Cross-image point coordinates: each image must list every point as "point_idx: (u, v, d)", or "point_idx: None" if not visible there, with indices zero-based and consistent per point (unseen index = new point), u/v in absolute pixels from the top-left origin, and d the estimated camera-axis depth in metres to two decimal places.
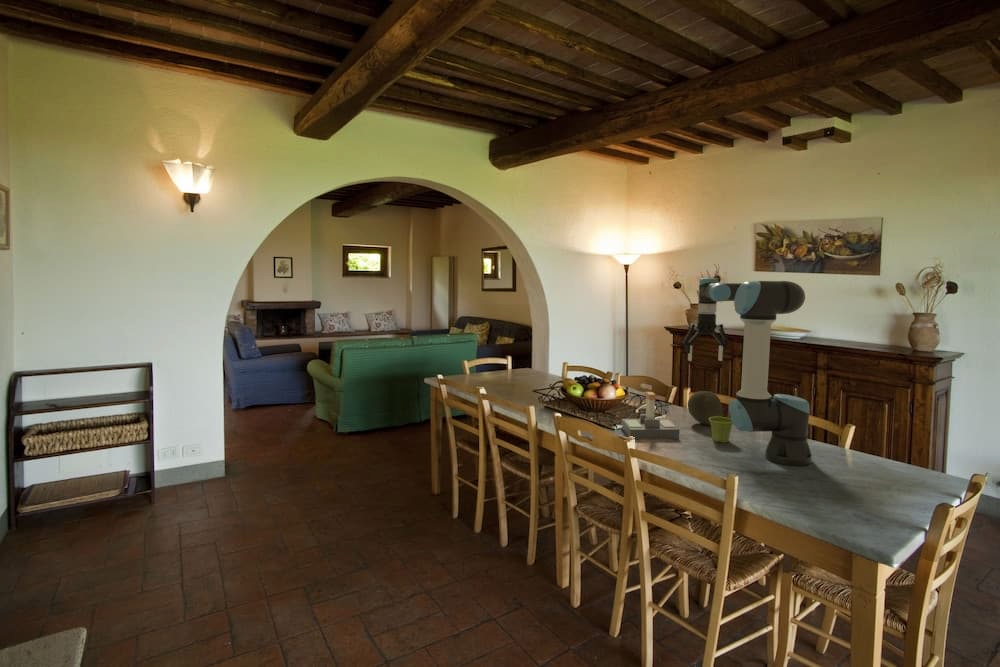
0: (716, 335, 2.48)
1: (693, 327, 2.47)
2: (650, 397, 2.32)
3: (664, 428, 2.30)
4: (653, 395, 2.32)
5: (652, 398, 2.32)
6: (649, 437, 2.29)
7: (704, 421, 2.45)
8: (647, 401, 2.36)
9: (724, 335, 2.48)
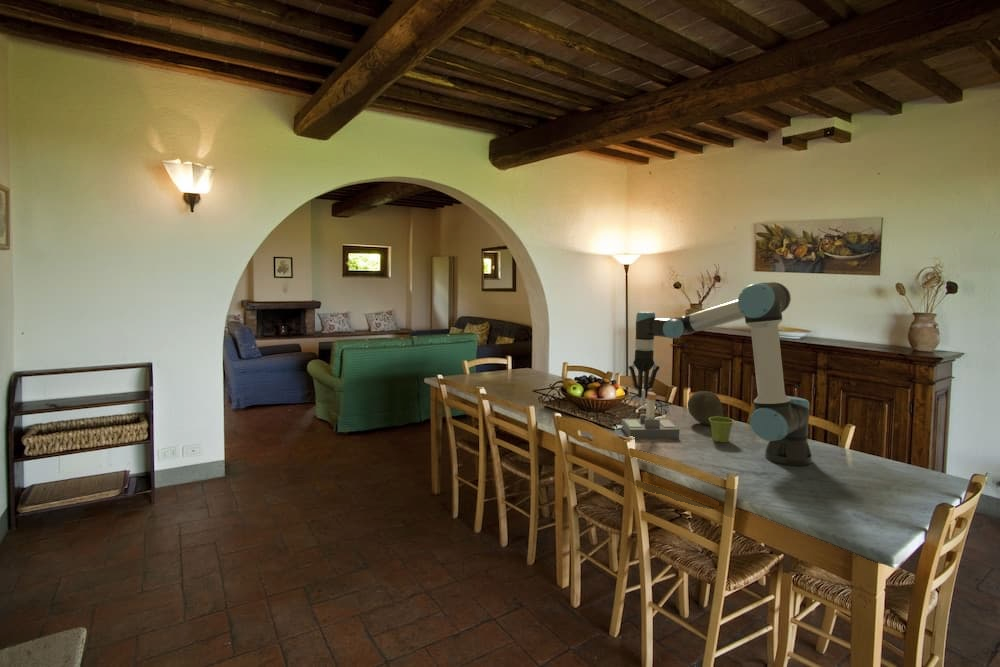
0: (647, 375, 2.32)
1: (632, 369, 2.32)
2: (651, 397, 2.32)
3: (664, 428, 2.30)
4: (654, 395, 2.32)
5: (653, 398, 2.32)
6: (649, 437, 2.29)
7: (704, 421, 2.45)
8: (647, 401, 2.36)
9: (653, 377, 2.32)
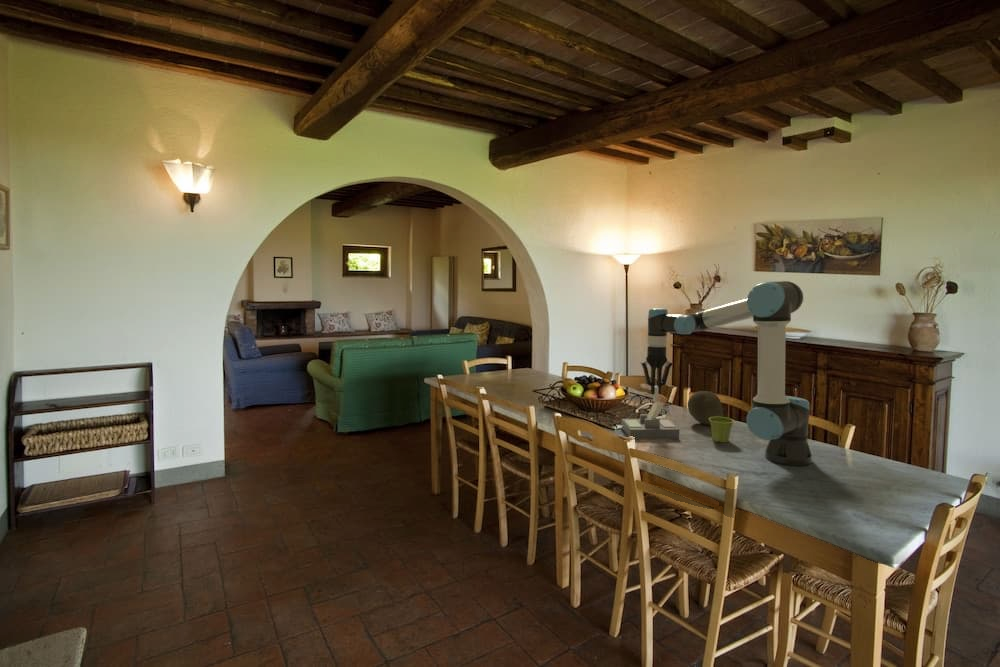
0: (660, 372, 2.32)
1: (644, 365, 2.32)
2: (662, 399, 2.32)
3: (664, 428, 2.30)
4: (665, 398, 2.32)
5: (663, 401, 2.32)
6: (649, 437, 2.29)
7: (704, 421, 2.45)
8: (656, 402, 2.36)
9: (666, 374, 2.32)
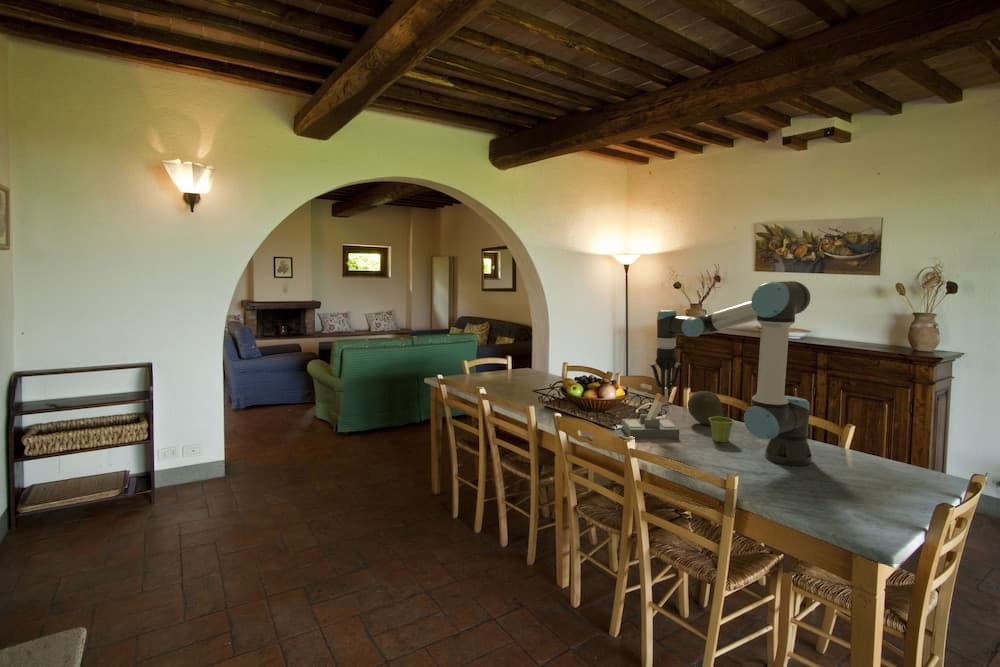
0: (669, 373, 2.33)
1: (654, 367, 2.32)
2: (660, 398, 2.32)
3: (664, 428, 2.30)
4: (664, 398, 2.32)
5: (662, 400, 2.32)
6: (649, 437, 2.29)
7: (704, 421, 2.45)
8: (655, 402, 2.36)
9: (675, 375, 2.33)
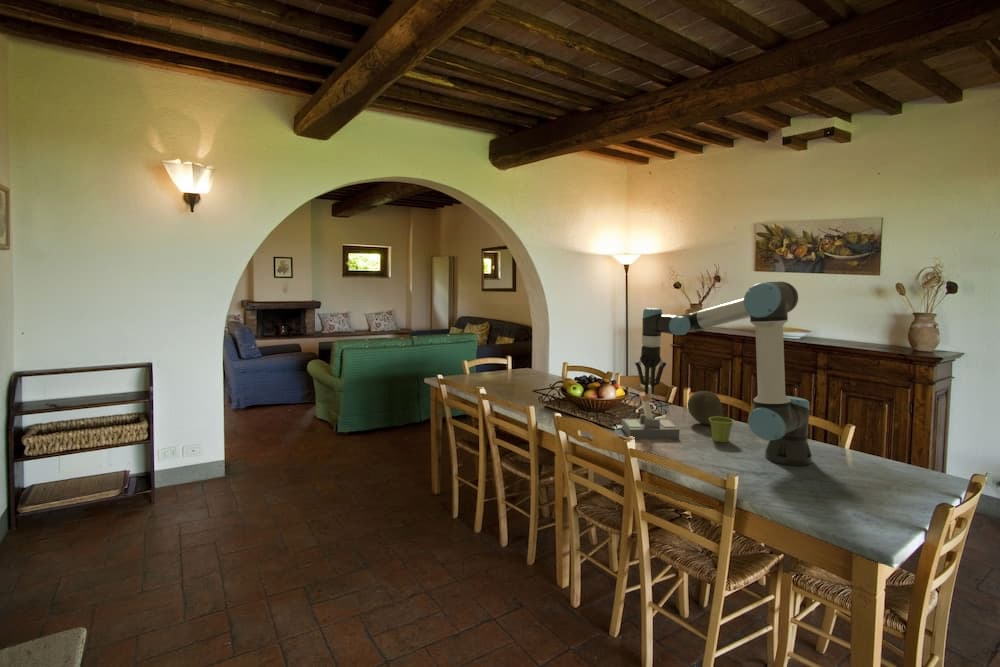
0: (653, 371, 2.32)
1: (638, 365, 2.32)
2: (644, 398, 2.32)
3: (664, 428, 2.30)
4: (646, 396, 2.32)
5: (646, 399, 2.32)
6: (649, 437, 2.29)
7: (704, 421, 2.45)
8: (642, 402, 2.36)
9: (660, 374, 2.33)
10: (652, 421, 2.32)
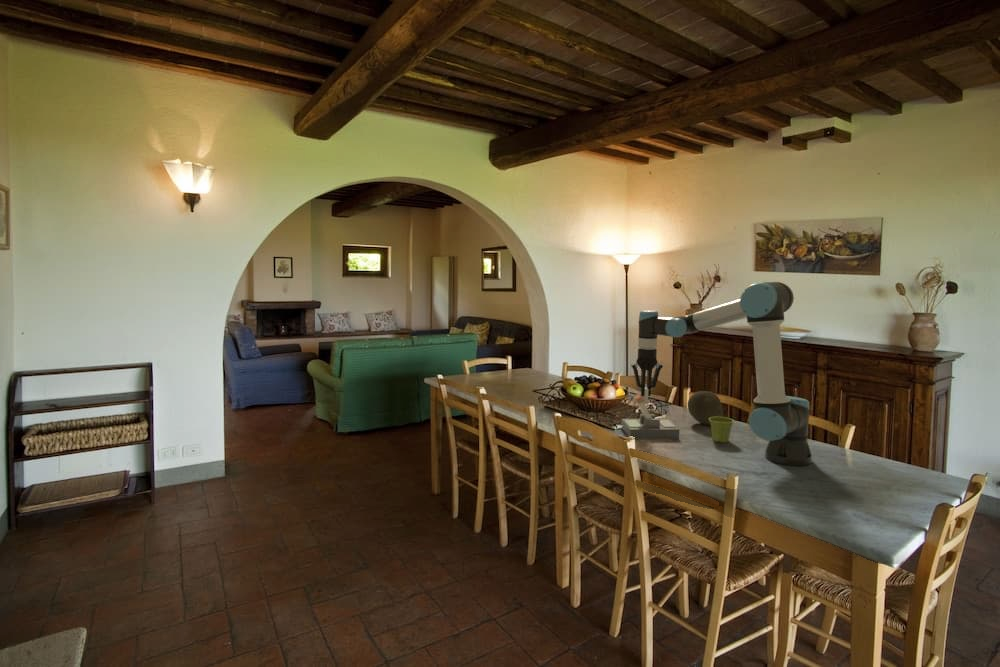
0: (650, 374, 2.33)
1: (635, 367, 2.32)
2: (638, 401, 2.32)
3: (664, 428, 2.30)
4: (640, 398, 2.32)
5: (640, 401, 2.32)
6: (649, 437, 2.29)
7: (704, 421, 2.45)
8: (638, 404, 2.36)
9: (656, 376, 2.33)
10: (652, 421, 2.32)
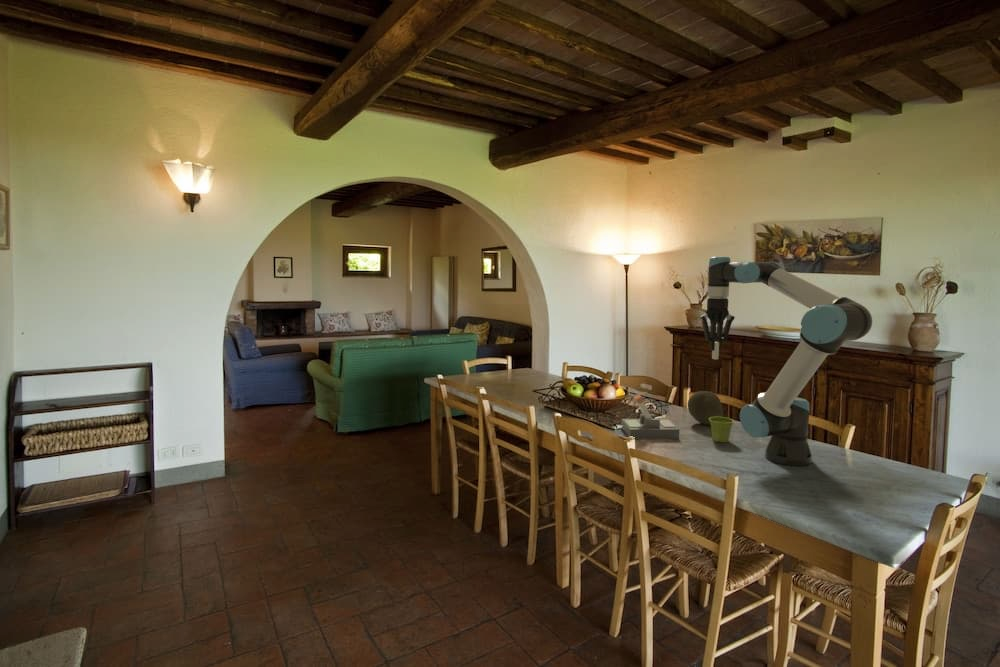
0: (721, 326, 2.14)
1: (704, 319, 2.14)
2: (638, 401, 2.32)
3: (664, 428, 2.30)
4: (640, 398, 2.32)
5: (640, 401, 2.32)
6: (649, 437, 2.29)
7: (704, 421, 2.45)
8: (638, 404, 2.36)
9: (728, 328, 2.14)
10: (652, 421, 2.32)
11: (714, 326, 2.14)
